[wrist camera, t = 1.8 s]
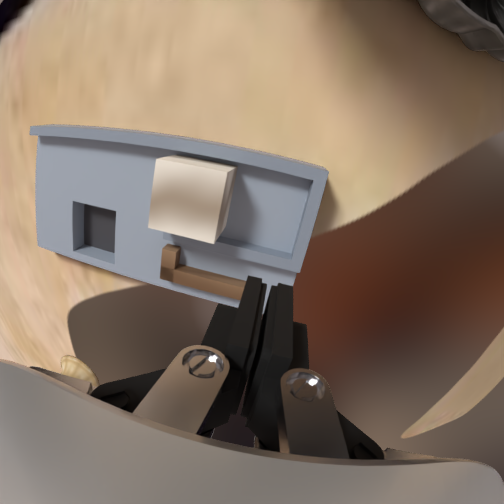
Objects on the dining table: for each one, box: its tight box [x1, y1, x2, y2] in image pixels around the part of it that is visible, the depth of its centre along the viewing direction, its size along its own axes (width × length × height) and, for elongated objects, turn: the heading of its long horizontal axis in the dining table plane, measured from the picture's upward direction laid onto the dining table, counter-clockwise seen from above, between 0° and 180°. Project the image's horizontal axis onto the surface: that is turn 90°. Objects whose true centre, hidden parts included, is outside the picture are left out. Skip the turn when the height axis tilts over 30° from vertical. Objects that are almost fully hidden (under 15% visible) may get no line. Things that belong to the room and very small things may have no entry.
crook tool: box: [160, 244, 246, 300], centre depth 28 cm, size 3×9×1 cm, turn 78°
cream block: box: [148, 154, 238, 244], centre depth 23 cm, size 6×6×4 cm
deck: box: [30, 124, 329, 314], centre depth 27 cm, size 15×31×4 cm, turn 78°
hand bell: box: [61, 356, 99, 387], centre depth 35 cm, size 8×8×16 cm
